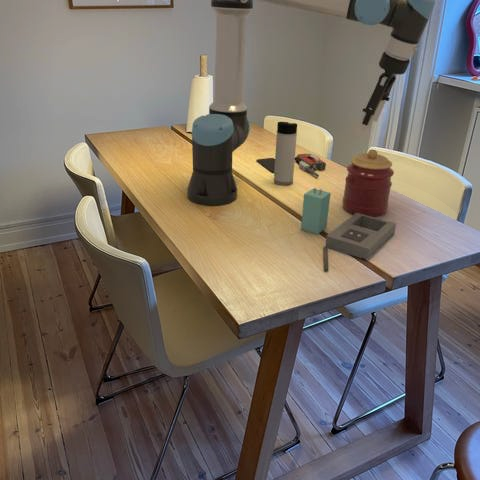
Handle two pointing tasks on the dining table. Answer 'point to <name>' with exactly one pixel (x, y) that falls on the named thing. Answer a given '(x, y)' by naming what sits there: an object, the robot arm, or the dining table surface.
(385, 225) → the grey flat block
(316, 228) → the charger block
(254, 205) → the dining table surface
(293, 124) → the travel mug
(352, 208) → the canister
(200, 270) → the dining table surface
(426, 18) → the robot arm
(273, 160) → the phone
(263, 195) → the dining table surface
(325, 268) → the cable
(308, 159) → the walkie-talkie
